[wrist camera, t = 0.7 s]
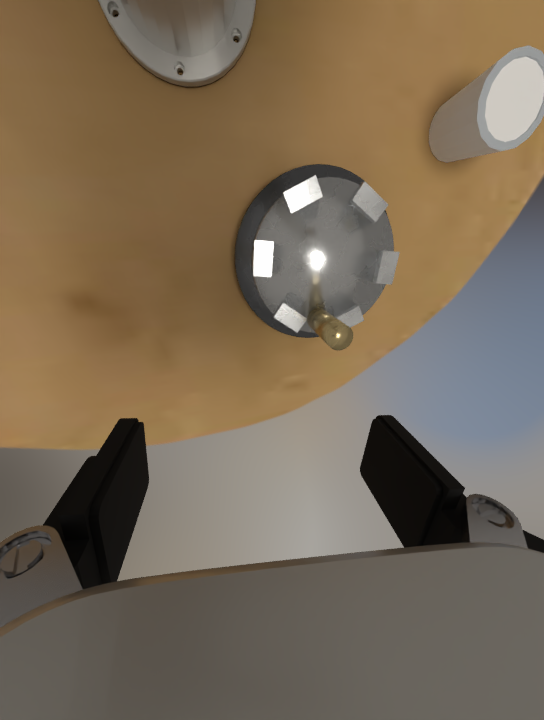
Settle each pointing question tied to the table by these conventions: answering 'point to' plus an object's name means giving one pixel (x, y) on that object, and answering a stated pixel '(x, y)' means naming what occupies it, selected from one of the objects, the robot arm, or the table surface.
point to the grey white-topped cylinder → (492, 109)
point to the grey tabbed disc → (324, 257)
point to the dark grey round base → (250, 226)
